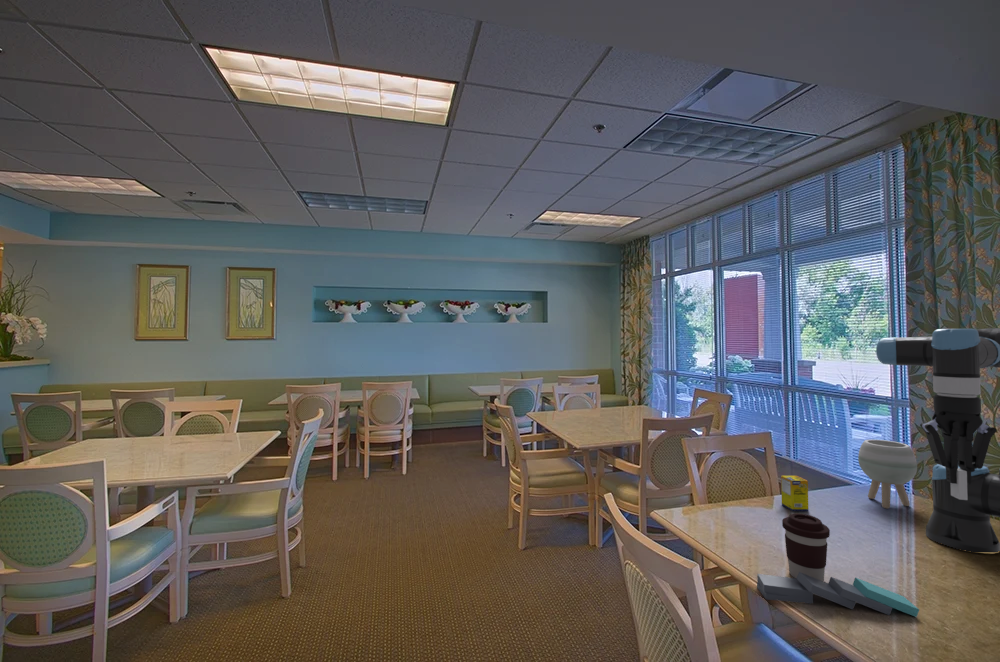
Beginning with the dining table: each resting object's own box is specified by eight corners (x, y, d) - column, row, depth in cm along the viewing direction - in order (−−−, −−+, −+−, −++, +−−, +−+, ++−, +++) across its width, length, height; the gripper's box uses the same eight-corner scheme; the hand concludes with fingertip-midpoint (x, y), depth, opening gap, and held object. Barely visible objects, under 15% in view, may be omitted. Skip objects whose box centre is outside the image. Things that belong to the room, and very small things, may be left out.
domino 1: (803, 579, 103) (757, 573, 106) (812, 591, 99) (764, 584, 101) (803, 586, 103) (757, 580, 106) (813, 599, 99) (764, 592, 101)
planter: (885, 513, 150) (884, 449, 150) (848, 496, 166) (846, 438, 166) (931, 512, 150) (929, 448, 150) (889, 496, 166) (887, 438, 167)
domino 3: (840, 588, 102) (799, 571, 102) (856, 602, 97) (813, 584, 97) (837, 595, 102) (796, 578, 102) (852, 609, 97) (809, 591, 97)
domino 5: (903, 596, 98) (855, 577, 101) (919, 609, 94) (867, 589, 96) (901, 603, 99) (852, 584, 101) (916, 617, 94) (865, 596, 96)
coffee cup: (833, 592, 103) (831, 530, 103) (783, 580, 108) (782, 520, 109) (828, 573, 111) (827, 515, 112) (782, 563, 117) (781, 507, 117)
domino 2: (801, 586, 104) (756, 582, 106) (813, 598, 99) (765, 594, 101) (801, 593, 104) (757, 589, 106) (813, 606, 99) (765, 601, 101)
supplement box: (809, 511, 152) (808, 480, 152) (792, 511, 152) (791, 480, 152) (797, 505, 157) (797, 475, 158) (781, 505, 158) (780, 475, 158)
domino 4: (877, 594, 99) (830, 576, 101) (892, 607, 95) (842, 588, 97) (875, 601, 100) (828, 583, 102) (889, 615, 95) (840, 596, 97)
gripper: (979, 394, 101) (982, 494, 100) (911, 392, 105) (913, 489, 104) (1006, 398, 94) (1009, 506, 93) (932, 396, 98) (934, 500, 97)
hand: (959, 497), depth 99 cm, fingers closed
